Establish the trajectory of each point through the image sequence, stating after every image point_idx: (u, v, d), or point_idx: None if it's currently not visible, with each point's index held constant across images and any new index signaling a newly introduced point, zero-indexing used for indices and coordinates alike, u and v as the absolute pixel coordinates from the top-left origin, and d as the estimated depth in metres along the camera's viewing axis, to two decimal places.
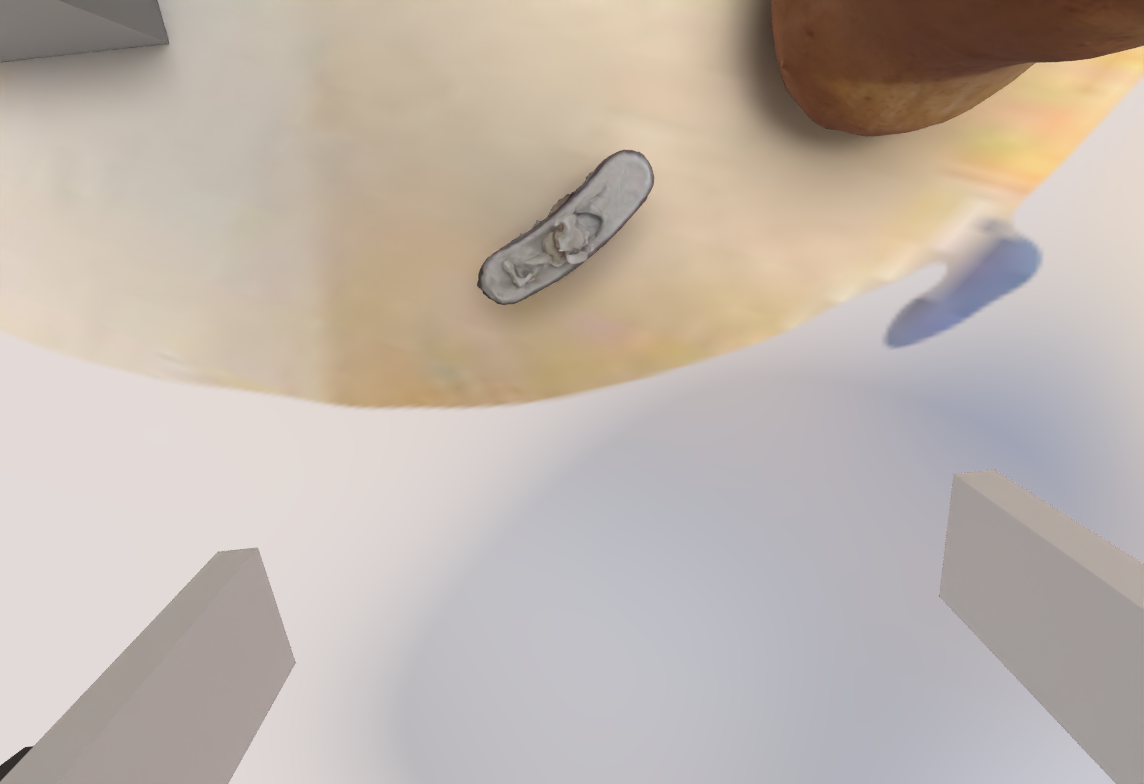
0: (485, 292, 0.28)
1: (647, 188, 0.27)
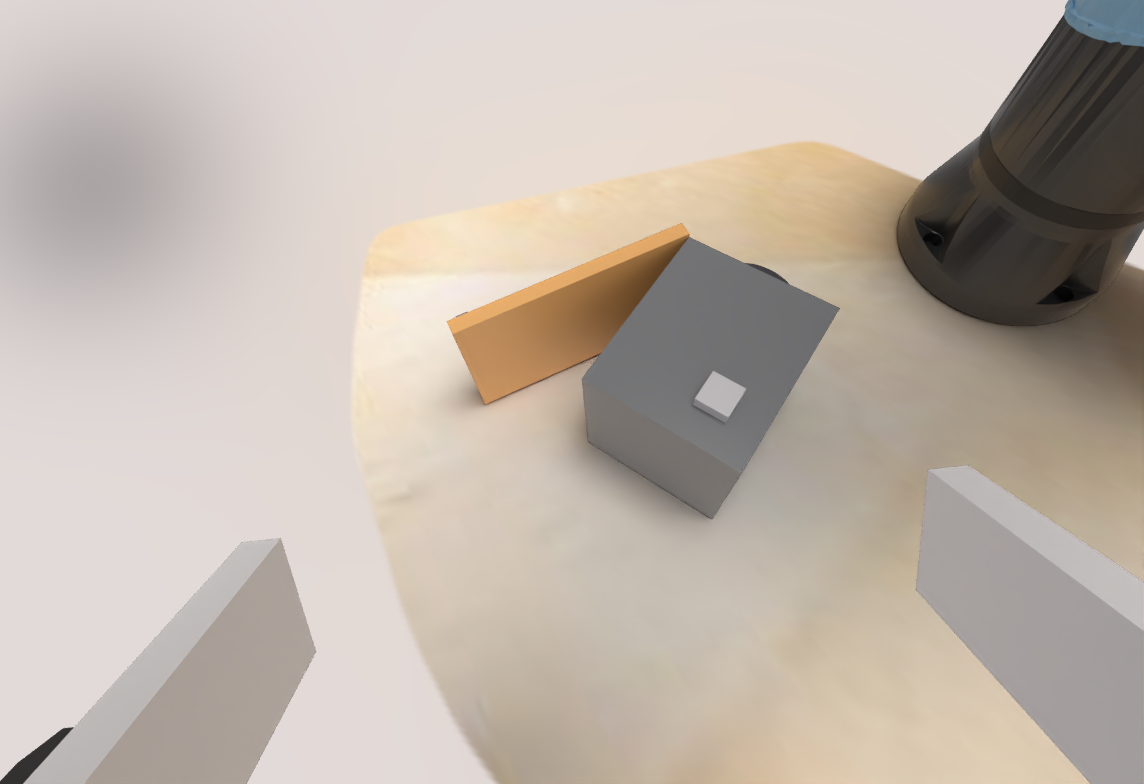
0: None
1: None
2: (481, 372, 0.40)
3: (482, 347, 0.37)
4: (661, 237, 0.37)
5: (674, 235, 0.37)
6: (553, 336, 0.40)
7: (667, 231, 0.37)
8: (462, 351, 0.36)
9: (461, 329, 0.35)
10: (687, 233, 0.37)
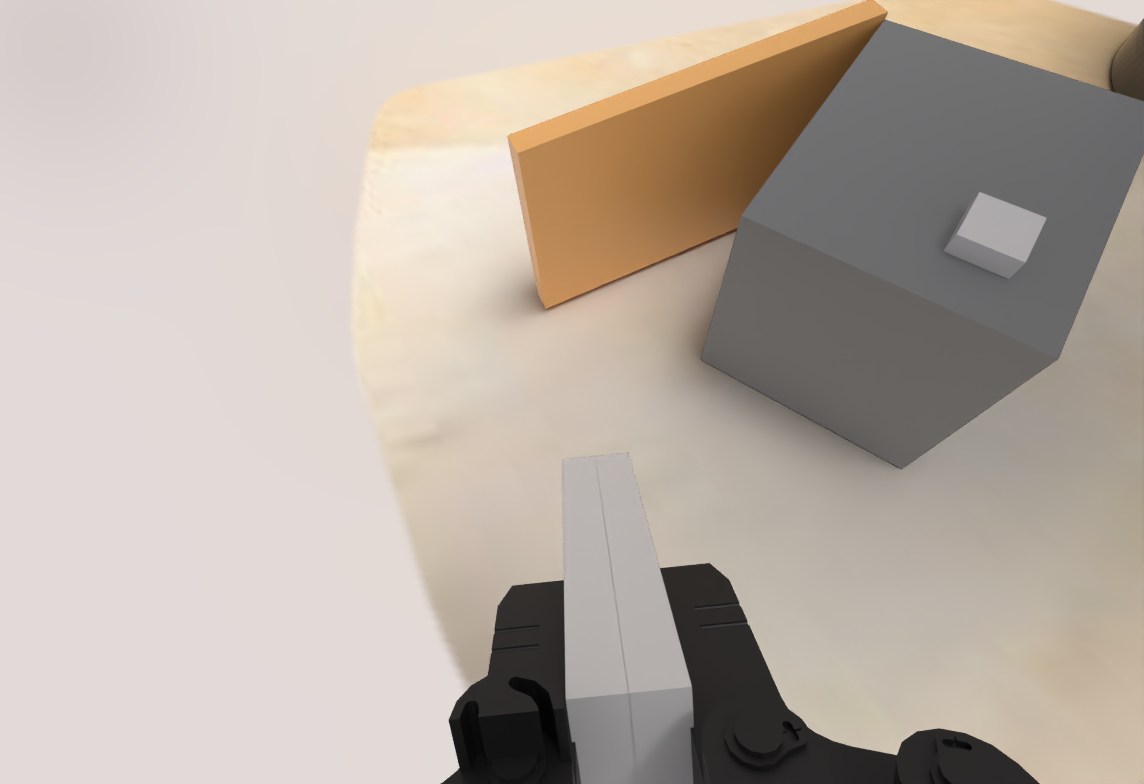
0: None
1: None
2: (549, 246, 0.26)
3: (558, 193, 0.24)
4: (843, 17, 0.23)
5: (864, 14, 0.23)
6: (658, 192, 0.26)
7: (851, 10, 0.23)
8: (528, 195, 0.23)
9: (532, 146, 0.21)
10: (884, 11, 0.23)
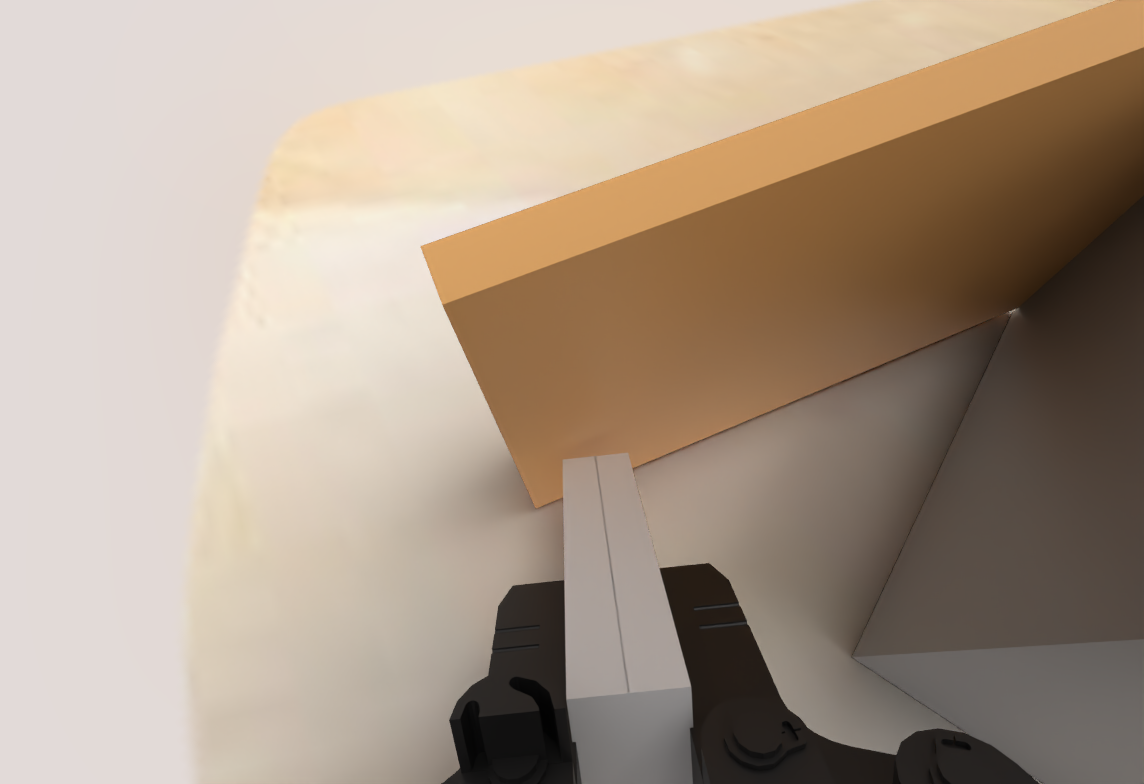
0: None
1: None
2: (540, 442, 0.12)
3: (560, 366, 0.10)
4: None
5: None
6: (777, 335, 0.12)
7: None
8: (484, 380, 0.09)
9: (486, 285, 0.07)
10: None
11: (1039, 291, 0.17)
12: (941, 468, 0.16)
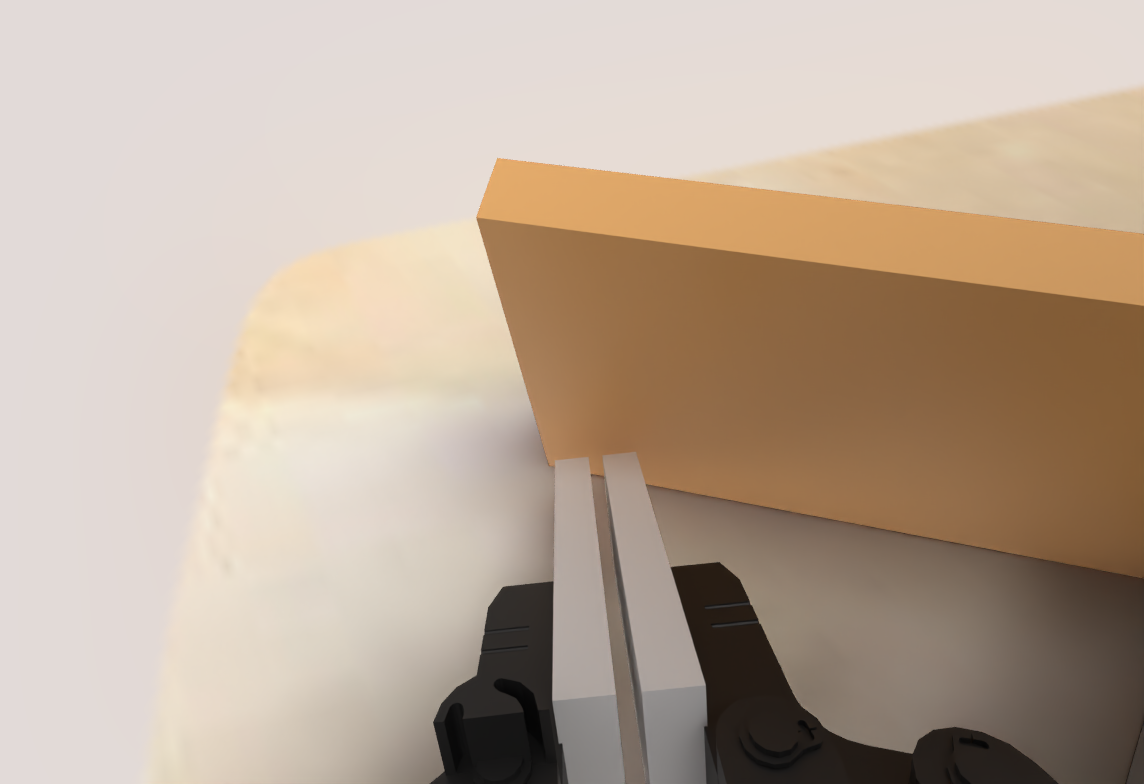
0: None
1: None
2: (560, 405, 0.12)
3: (589, 341, 0.09)
4: None
5: None
6: (844, 441, 0.11)
7: None
8: (510, 313, 0.09)
9: (524, 220, 0.07)
10: None
11: None
12: None
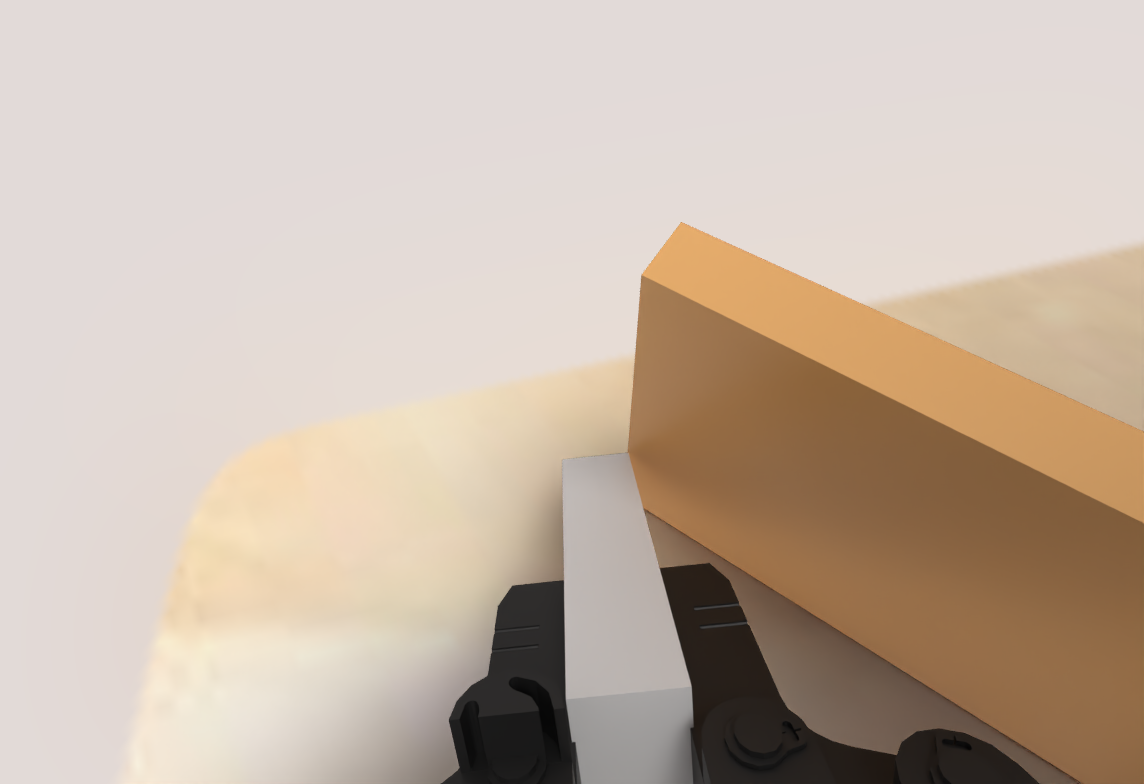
0: None
1: None
2: (656, 452, 0.12)
3: (707, 413, 0.09)
4: None
5: None
6: (936, 604, 0.10)
7: None
8: (640, 362, 0.09)
9: (685, 293, 0.07)
10: None
11: None
12: None
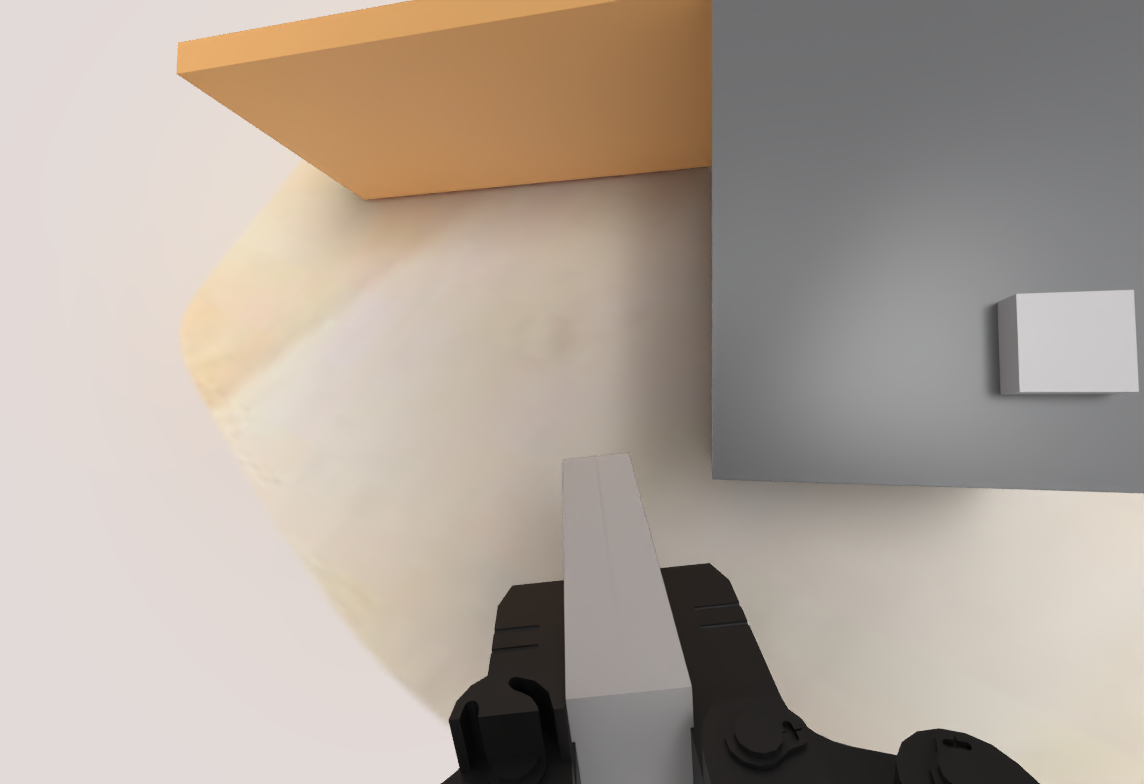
0: None
1: None
2: (313, 154, 0.23)
3: (276, 114, 0.20)
4: None
5: None
6: (432, 131, 0.21)
7: None
8: (235, 111, 0.20)
9: (192, 69, 0.18)
10: None
11: None
12: None
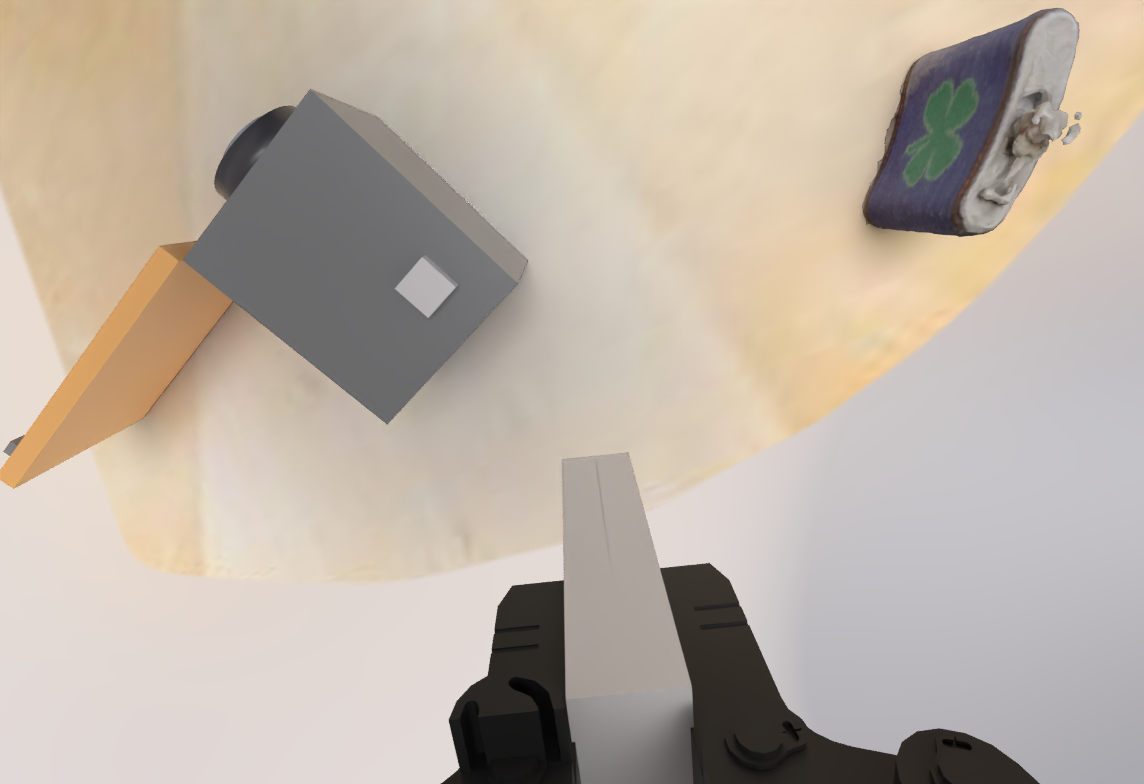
0: (972, 232, 0.28)
1: (1077, 31, 0.26)
2: (98, 437, 0.36)
3: (66, 450, 0.33)
4: (148, 279, 0.27)
5: (162, 270, 0.27)
6: (138, 378, 0.34)
7: (150, 267, 0.27)
8: (48, 468, 0.33)
9: (18, 480, 0.30)
10: (175, 261, 0.27)
11: None
12: None
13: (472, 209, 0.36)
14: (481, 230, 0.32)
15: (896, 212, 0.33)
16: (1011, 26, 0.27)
